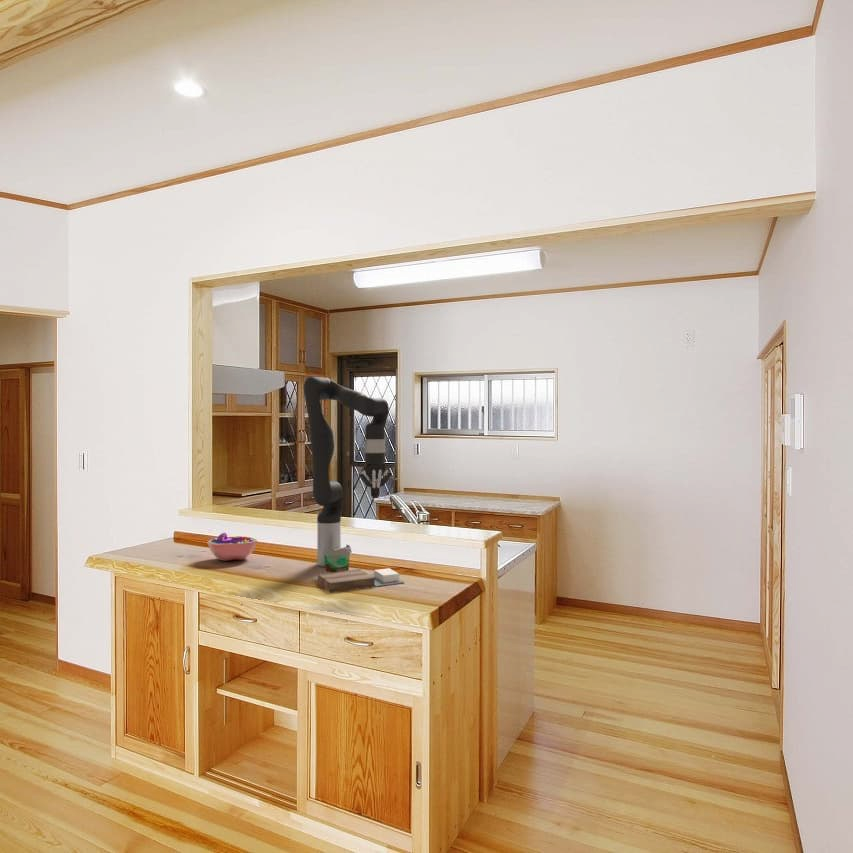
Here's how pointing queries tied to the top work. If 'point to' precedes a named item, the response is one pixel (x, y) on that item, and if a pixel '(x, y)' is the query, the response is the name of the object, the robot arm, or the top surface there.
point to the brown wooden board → (346, 580)
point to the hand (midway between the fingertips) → (375, 497)
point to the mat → (380, 583)
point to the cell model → (231, 547)
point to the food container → (337, 559)
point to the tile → (386, 575)
